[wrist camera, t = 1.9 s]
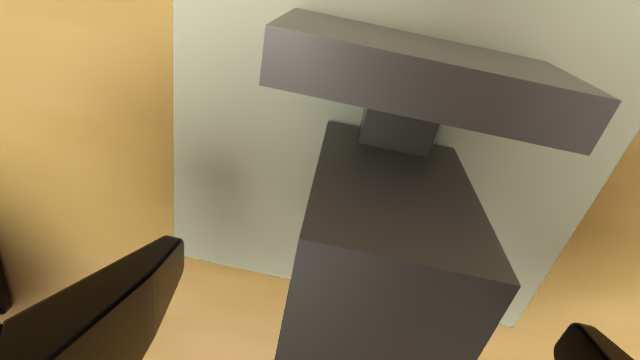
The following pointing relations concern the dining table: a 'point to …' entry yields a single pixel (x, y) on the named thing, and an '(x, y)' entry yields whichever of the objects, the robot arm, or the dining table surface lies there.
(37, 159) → the dining table surface
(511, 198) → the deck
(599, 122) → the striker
